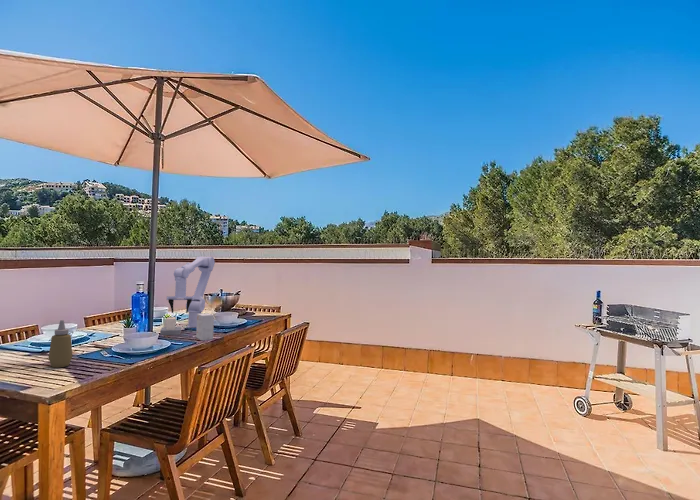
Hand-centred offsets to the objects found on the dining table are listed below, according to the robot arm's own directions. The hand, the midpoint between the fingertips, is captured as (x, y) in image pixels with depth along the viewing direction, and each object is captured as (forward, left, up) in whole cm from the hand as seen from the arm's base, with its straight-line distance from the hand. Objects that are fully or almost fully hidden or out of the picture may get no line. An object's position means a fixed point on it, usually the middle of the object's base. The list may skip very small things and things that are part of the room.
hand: (179, 312), depth 258 cm
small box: (+24, +14, -11) cm, 30 cm away
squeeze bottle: (+72, -40, -11) cm, 83 cm away
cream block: (+7, -4, -8) cm, 11 cm away
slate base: (+7, -4, -10) cm, 13 cm away
